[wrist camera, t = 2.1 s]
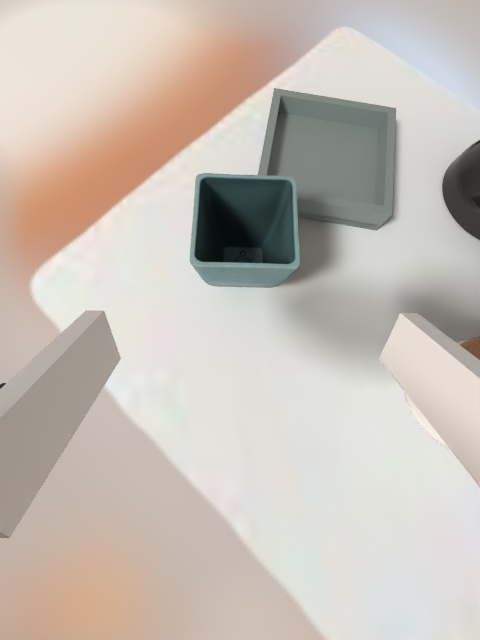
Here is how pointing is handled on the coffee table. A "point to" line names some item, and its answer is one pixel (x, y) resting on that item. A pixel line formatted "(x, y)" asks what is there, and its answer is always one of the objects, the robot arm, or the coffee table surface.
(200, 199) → the flower pot
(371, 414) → the coffee table surface
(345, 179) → the tray
